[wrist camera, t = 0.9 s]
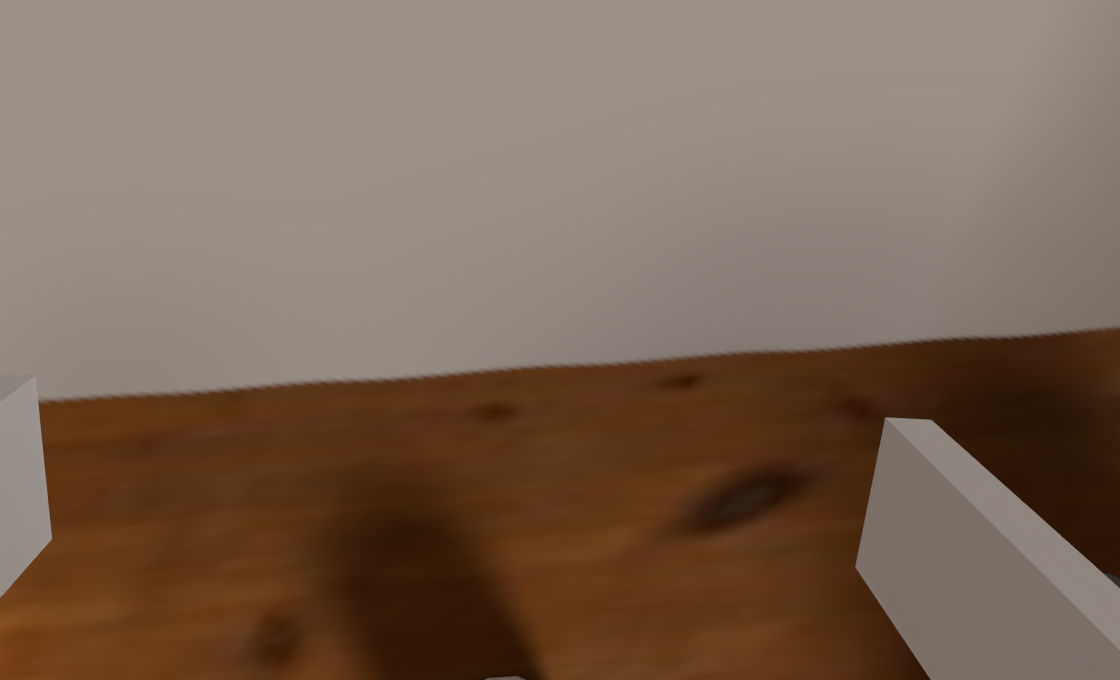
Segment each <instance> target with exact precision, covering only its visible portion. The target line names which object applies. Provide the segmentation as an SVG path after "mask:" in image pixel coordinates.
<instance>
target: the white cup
mask: <svg viewBox="0 0 1120 680" xmlns="http://www.w3.org/2000/svg"><path fill="white" fill-rule="evenodd" d="M485 680H525V679H523V678H521V677H519V676H511V677H495V678H487V679H485Z"/></svg>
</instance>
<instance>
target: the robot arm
mask: <svg viewBox="0 0 1120 680" xmlns="http://www.w3.org/2000/svg"><path fill="white" fill-rule="evenodd" d="M51 539H52V536H51V526H50V516H49V506H48V496H47V486H46V476H45V467H44V457H43V447H42V437H41V427H40V417H39V407H38V397H37V387H36V377H35V376H32V375H12V374H0V597H1V596H2V595H3V594H4V593H5V592H6V591H7V589H8V588H9V587H10V586H11V585H12V584H13V583H14V582H15V580H16V579H17V578H18V577H19V576H20V575H21V574H22V572H23V571H24V570H25V569H26V568H27V567H28V566H29V564H30V563H31V562H32V561H33V560H34V559H35V558H36V556H37V555H38V554H39V553H40V552H41V551H42V550H43V548H44V547H45V546H46V545H47V544H48V543H49V542H50V540H51ZM855 567H856V569H857V570H858V572H859V573H860V575H861V576H862V578H863V579H864V581H865V582H866V584H867V585H868V587H869V588H870V590H871V591H872V593H873V594H874V596H875V597H876V599H877V600H878V602H879V603H880V605H881V606H882V608H883V609H884V611H885V612H886V614H887V615H888V617H889V618H890V620H891V621H892V623H893V624H894V626H895V627H896V629H897V630H898V632H899V633H900V635H901V636H902V638H903V639H904V640H905V642H906V643H907V645H908V646H909V648H910V649H911V651H912V652H913V654H914V655H915V657H916V658H917V660H918V661H919V663H920V664H921V666H922V667H923V669H924V670H925V672H926V673H927V675H928V676H929V678H930V679H931V680H1120V579H1119V578H1117V577H1116V576H1114V575H1112V574H1103V573H1102V572H1101V571H1100V570H1099V569H1098V568H1096V567H1095V566H1094V565H1093V564H1092V563H1091V562H1090V561H1089V560H1087V559H1086V558H1085V557H1084V556H1083V555H1082V554H1081V553H1080V552H1079V551H1077V550H1076V549H1075V548H1074V547H1073V546H1072V545H1071V544H1070V543H1068V542H1067V541H1066V540H1065V539H1064V538H1063V537H1062V536H1061V535H1060V534H1058V533H1057V532H1056V531H1055V530H1054V529H1053V528H1052V527H1051V526H1049V525H1048V524H1047V523H1046V522H1045V521H1044V520H1043V519H1042V518H1040V517H1039V516H1038V515H1037V514H1036V513H1035V512H1034V511H1033V510H1032V509H1030V508H1029V507H1028V506H1027V505H1026V504H1025V503H1024V502H1023V501H1021V500H1020V499H1019V498H1018V497H1017V496H1016V495H1015V494H1014V493H1013V492H1011V491H1010V490H1009V489H1008V488H1007V487H1006V486H1005V485H1004V484H1002V483H1001V482H1000V481H999V480H998V479H997V478H996V477H995V476H993V475H992V474H991V473H990V472H989V471H988V470H987V469H986V468H985V467H983V466H982V465H981V464H980V463H979V462H978V461H977V460H976V459H974V458H973V457H972V456H971V455H970V454H969V453H968V452H967V451H965V450H964V449H963V448H962V447H961V446H960V445H959V444H958V443H957V442H955V441H954V440H953V439H952V438H951V437H950V436H949V435H948V434H946V433H945V432H944V431H943V430H942V429H941V428H940V427H939V426H938V425H936V424H935V423H934V422H933V421H932V420H924V419H904V418H885V423H884V428H883V433H882V437H881V442H880V447H879V452H878V457H877V462H876V467H875V472H874V477H873V482H872V487H871V492H870V497H869V502H868V507H867V512H866V517H865V522H864V527H863V532H862V537H861V542H860V547H859V551H858V556H857V561H856V566H855Z"/></svg>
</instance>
